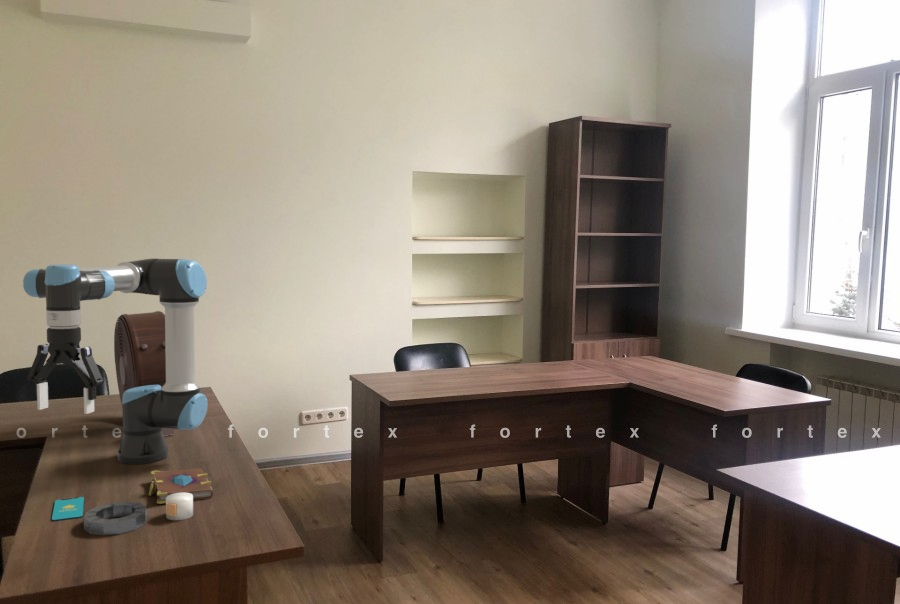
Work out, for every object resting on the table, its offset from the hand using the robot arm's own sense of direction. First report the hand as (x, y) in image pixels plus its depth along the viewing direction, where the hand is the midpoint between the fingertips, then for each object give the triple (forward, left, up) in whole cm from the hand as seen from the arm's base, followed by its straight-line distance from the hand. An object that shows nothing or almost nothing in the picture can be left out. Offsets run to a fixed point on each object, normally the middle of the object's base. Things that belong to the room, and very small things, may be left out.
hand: (66, 410), depth 182 cm
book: (-27, +14, -29) cm, 42 cm away
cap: (-9, +26, -28) cm, 39 cm away
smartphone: (-5, -4, -28) cm, 29 cm away
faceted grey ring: (0, +14, -28) cm, 31 cm away
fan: (-81, -34, -28) cm, 92 cm away
